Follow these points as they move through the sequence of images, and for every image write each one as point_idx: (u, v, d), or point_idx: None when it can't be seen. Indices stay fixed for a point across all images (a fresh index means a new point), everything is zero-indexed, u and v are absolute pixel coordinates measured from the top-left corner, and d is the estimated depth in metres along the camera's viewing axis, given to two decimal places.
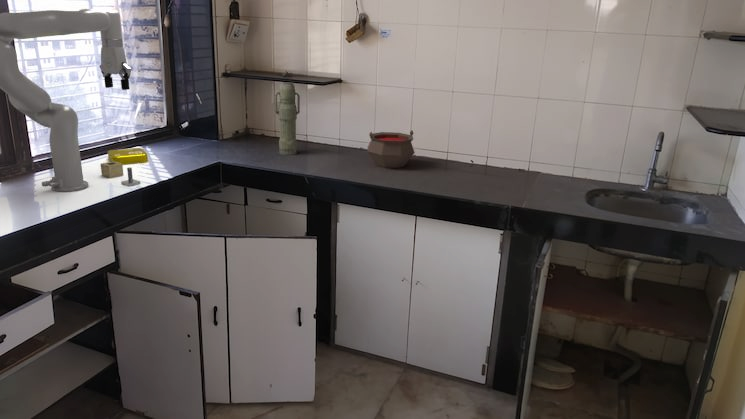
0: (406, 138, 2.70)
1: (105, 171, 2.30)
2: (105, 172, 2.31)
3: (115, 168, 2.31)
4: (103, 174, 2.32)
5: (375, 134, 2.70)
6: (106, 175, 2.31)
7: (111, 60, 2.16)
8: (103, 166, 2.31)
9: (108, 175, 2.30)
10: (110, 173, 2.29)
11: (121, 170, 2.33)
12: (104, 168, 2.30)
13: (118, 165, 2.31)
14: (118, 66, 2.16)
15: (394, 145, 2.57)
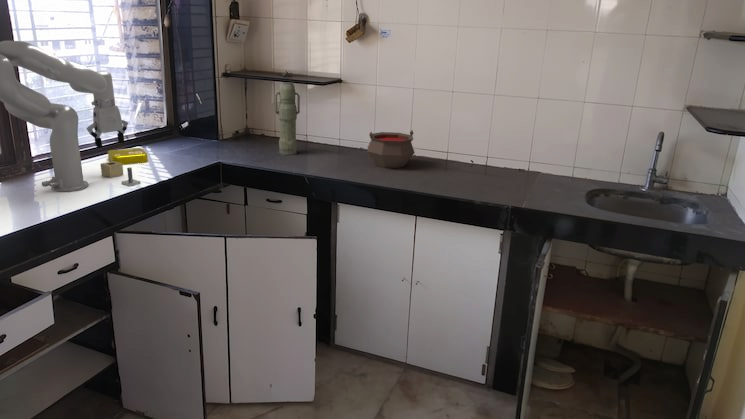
0: (406, 138, 2.70)
1: (105, 171, 2.30)
2: (105, 172, 2.31)
3: (115, 168, 2.31)
4: (103, 174, 2.32)
5: (375, 134, 2.70)
6: (106, 175, 2.31)
7: (115, 118, 2.26)
8: (103, 166, 2.31)
9: (108, 175, 2.30)
10: (110, 173, 2.29)
11: (121, 170, 2.33)
12: (104, 168, 2.30)
13: (118, 165, 2.31)
14: None
15: (394, 145, 2.57)
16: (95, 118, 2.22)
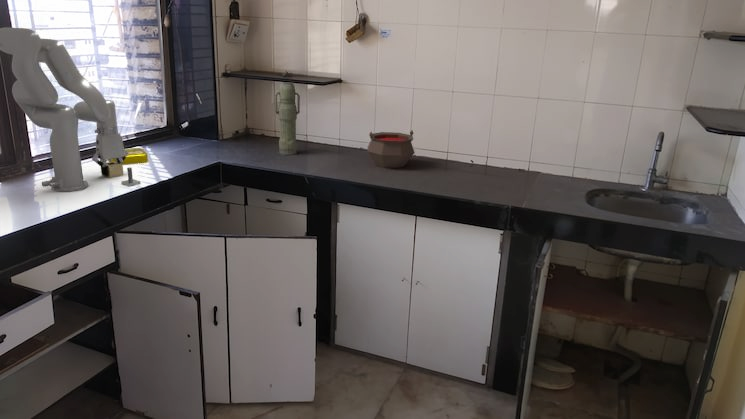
0: (406, 138, 2.70)
1: None
2: None
3: (115, 168, 2.31)
4: None
5: (375, 134, 2.70)
6: None
7: (117, 145, 2.30)
8: None
9: (108, 175, 2.30)
10: (110, 173, 2.29)
11: (121, 170, 2.33)
12: None
13: (118, 165, 2.31)
14: None
15: (394, 145, 2.57)
16: (98, 146, 2.25)
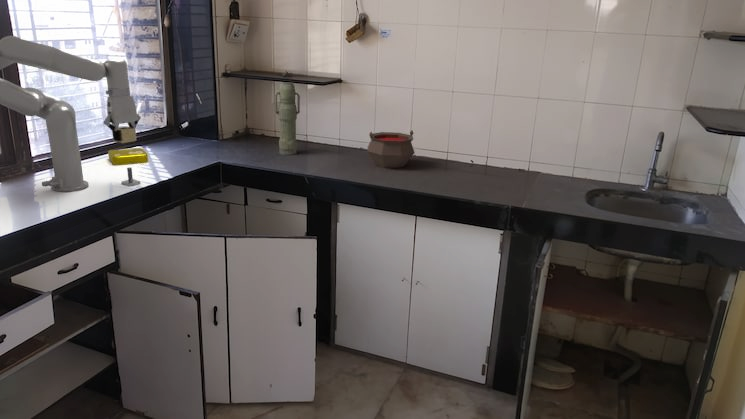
0: (406, 138, 2.70)
1: None
2: None
3: (128, 133, 2.16)
4: None
5: (375, 134, 2.70)
6: None
7: (130, 108, 2.15)
8: None
9: (121, 140, 2.15)
10: (123, 138, 2.15)
11: (134, 135, 2.19)
12: None
13: (131, 129, 2.17)
14: None
15: (394, 145, 2.57)
16: (109, 108, 2.11)
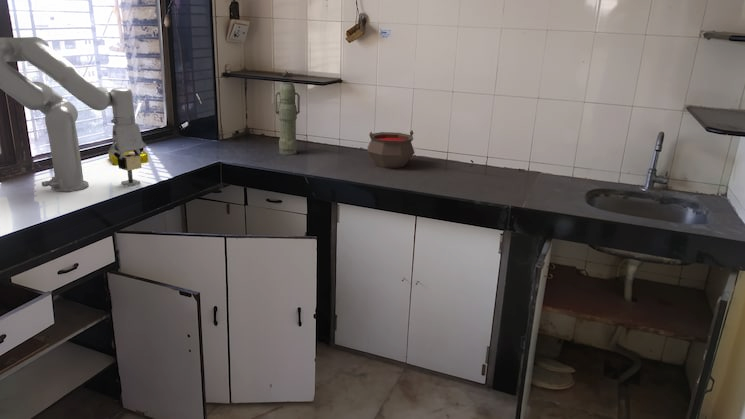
0: (406, 138, 2.70)
1: None
2: None
3: (133, 160, 2.18)
4: None
5: (375, 134, 2.70)
6: None
7: (135, 136, 2.17)
8: None
9: (126, 168, 2.17)
10: (128, 165, 2.17)
11: (139, 162, 2.20)
12: None
13: (136, 157, 2.19)
14: None
15: (394, 145, 2.57)
16: (115, 136, 2.13)
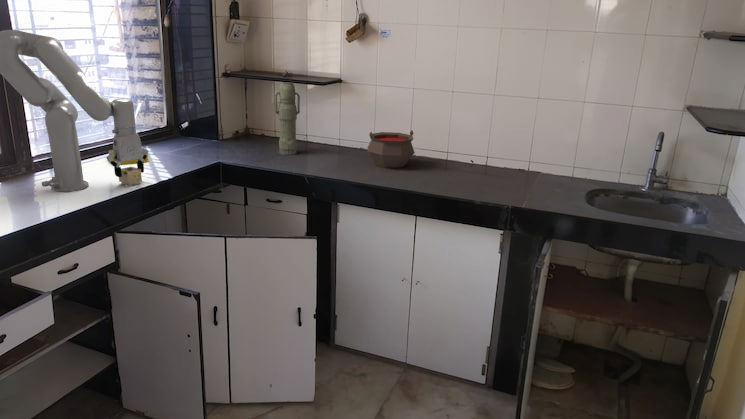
0: (406, 138, 2.70)
1: (123, 177, 2.19)
2: (123, 178, 2.20)
3: (134, 174, 2.20)
4: (121, 180, 2.21)
5: (375, 134, 2.70)
6: (124, 181, 2.20)
7: (136, 146, 2.18)
8: None
9: (126, 181, 2.19)
10: (128, 179, 2.18)
11: (139, 176, 2.22)
12: (122, 174, 2.19)
13: (136, 171, 2.21)
14: None
15: (394, 145, 2.57)
16: (115, 147, 2.14)
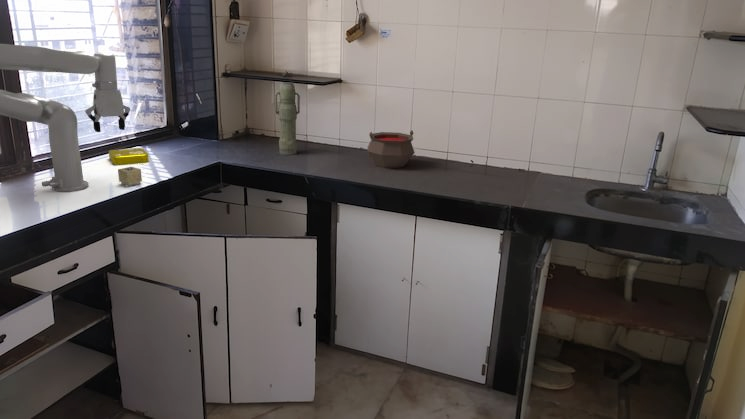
0: (406, 138, 2.70)
1: (123, 177, 2.19)
2: (123, 178, 2.20)
3: (134, 174, 2.20)
4: (121, 180, 2.21)
5: (375, 134, 2.70)
6: (124, 181, 2.20)
7: (116, 102, 2.16)
8: (120, 172, 2.20)
9: (126, 181, 2.19)
10: (128, 179, 2.18)
11: (139, 176, 2.22)
12: (122, 174, 2.19)
13: (136, 171, 2.21)
14: None
15: (394, 145, 2.57)
16: (95, 101, 2.12)
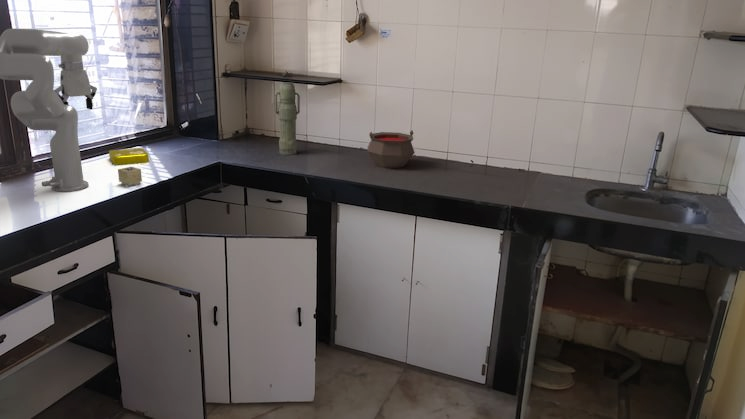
0: (406, 138, 2.70)
1: (123, 177, 2.19)
2: (123, 178, 2.20)
3: (134, 174, 2.20)
4: (121, 180, 2.21)
5: (375, 134, 2.70)
6: (124, 181, 2.20)
7: (83, 82, 2.24)
8: (120, 172, 2.20)
9: (126, 181, 2.19)
10: (128, 179, 2.18)
11: (139, 176, 2.22)
12: (122, 174, 2.19)
13: (136, 171, 2.21)
14: None
15: (394, 145, 2.57)
16: (62, 81, 2.19)
